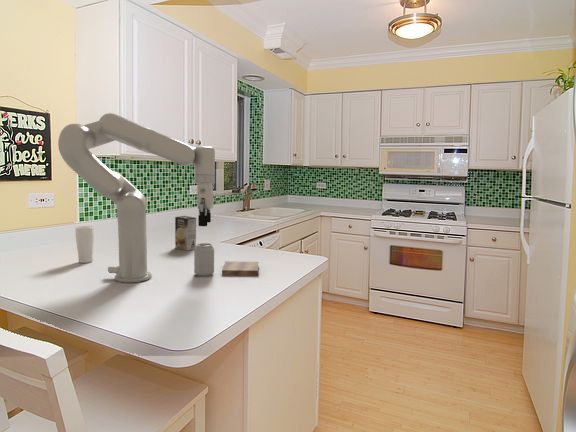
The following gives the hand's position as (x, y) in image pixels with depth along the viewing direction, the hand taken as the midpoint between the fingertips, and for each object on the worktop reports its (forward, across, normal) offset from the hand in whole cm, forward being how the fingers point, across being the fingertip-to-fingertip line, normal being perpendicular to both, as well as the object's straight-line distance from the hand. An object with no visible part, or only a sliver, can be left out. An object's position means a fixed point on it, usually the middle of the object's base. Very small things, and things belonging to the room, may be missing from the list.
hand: (204, 224), depth 148 cm
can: (+20, 0, 0) cm, 20 cm away
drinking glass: (+20, +17, +52) cm, 58 cm away
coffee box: (+20, +47, +16) cm, 53 cm away
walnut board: (+20, +6, -14) cm, 25 cm away
